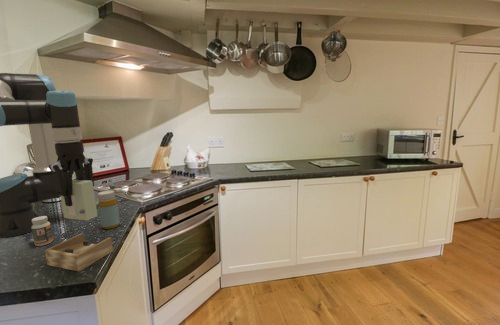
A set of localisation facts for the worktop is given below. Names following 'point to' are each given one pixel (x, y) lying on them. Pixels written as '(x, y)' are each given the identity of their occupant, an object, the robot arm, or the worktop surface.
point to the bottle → (108, 209)
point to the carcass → (77, 253)
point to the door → (82, 200)
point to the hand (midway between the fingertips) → (80, 212)
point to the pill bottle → (41, 231)
